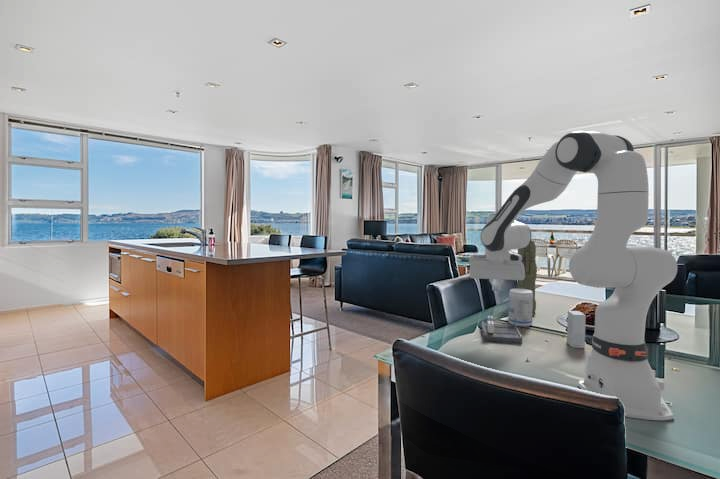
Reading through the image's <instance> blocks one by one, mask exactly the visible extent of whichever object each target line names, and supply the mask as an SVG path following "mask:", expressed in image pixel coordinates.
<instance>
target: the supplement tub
mask: <svg viewBox="0 0 720 479" xmlns="http://www.w3.org/2000/svg"><path fill="white" fill-rule="evenodd" d="M532 310H533V291H531V290H527V289H517V288H511V289H509V294H508V316H507V319H508V320H507V321H508V324H511V325H513V323H515V325H516V326H517V327H525V328H526V327H530V326H531V325H532V324H533V316H532Z"/></svg>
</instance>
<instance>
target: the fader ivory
mask: <svg viewBox="0 0 720 479" xmlns="http://www.w3.org/2000/svg"><path fill="white" fill-rule="evenodd" d="M487 330H488V333H494V321H488V329H487Z"/></svg>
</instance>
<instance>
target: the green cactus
mask: <svg viewBox="0 0 720 479" xmlns="http://www.w3.org/2000/svg"><path fill="white" fill-rule="evenodd" d="M535 243H536V242H535V241H533V240H531V241H530V243H529V245H528V246H527V247H525V248H521V249H517V251H518V252H517V254H519V255H521V256H522V261H521V262H522V263H523V265H524V269H525V278H524V280H516V289H527V290H531V291H533V310H532V317H533V316H535V315H536V308H537V301H536V279H537V275H538V274H537V272H538V270H537V269H538V265H537V263H536V256H537V254H536V251H537V247H536V244H535Z"/></svg>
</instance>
